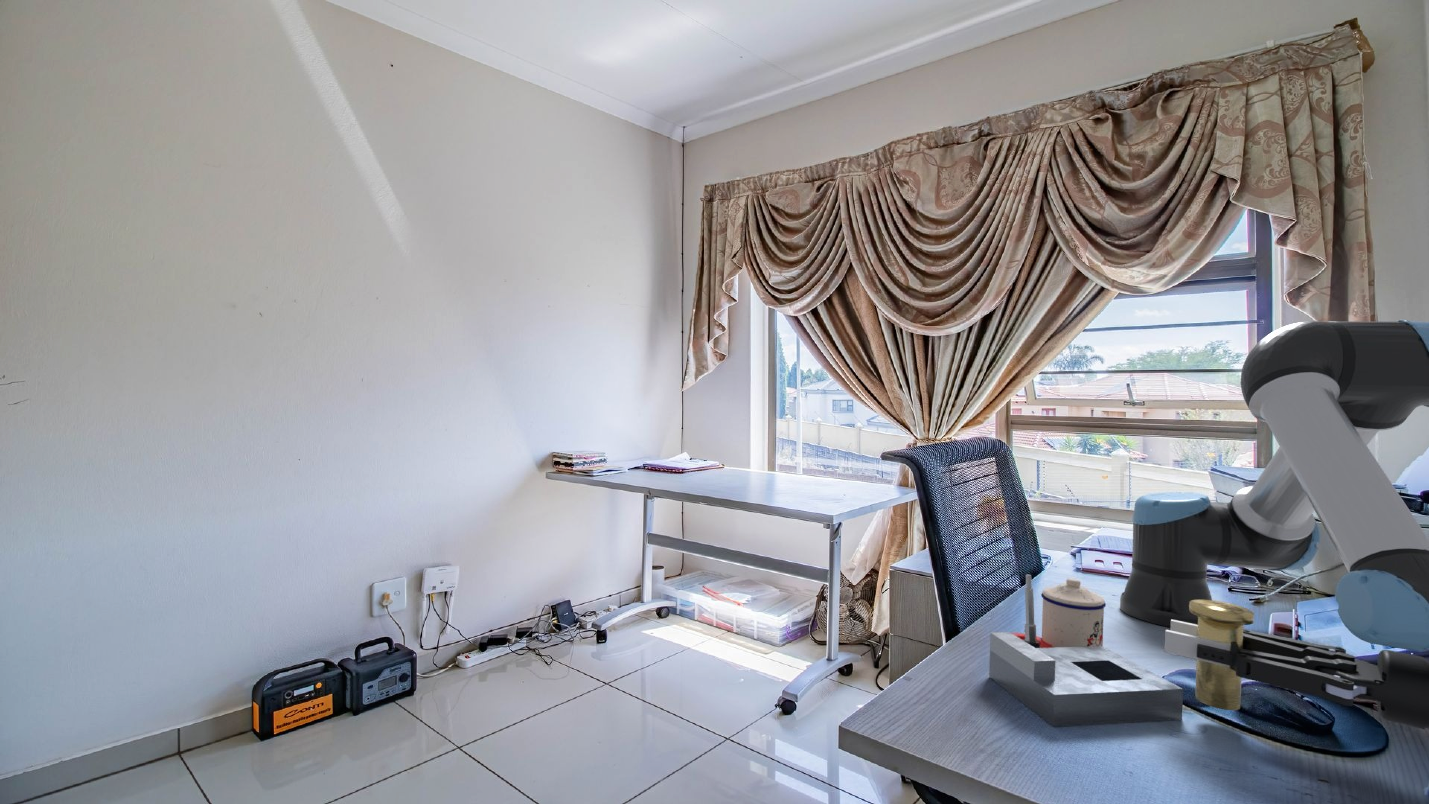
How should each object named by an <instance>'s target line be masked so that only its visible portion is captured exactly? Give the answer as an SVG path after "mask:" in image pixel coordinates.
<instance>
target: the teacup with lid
mask: <svg viewBox="0 0 1429 804" xmlns="http://www.w3.org/2000/svg"><path fill="white" fill-rule="evenodd" d="M1065 581H1066V583H1061V584H1058V585H1056V586H1050V587H1046V588H1044V589H1043V590H1042V591H1041V598H1042V611H1041V612H1042V619H1041V620H1042V621H1041V638H1042V640H1043V641H1044V642H1046V643H1048V644H1050V645H1052V648H1053V647H1081V646H1103V647H1104V619H1105V617H1104V613H1105V607H1106V605H1107V604H1106V602H1105V599H1104V598H1103V597H1102V596H1101V595H1099V594H1097V593H1096V592H1093V591H1090V590H1089V589H1088V588H1086V587H1085V586H1082V585H1081V581H1080V580H1079V579H1077V578H1072V577H1071V578H1070V577H1069V578H1067V579H1066V580H1065Z"/></svg>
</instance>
